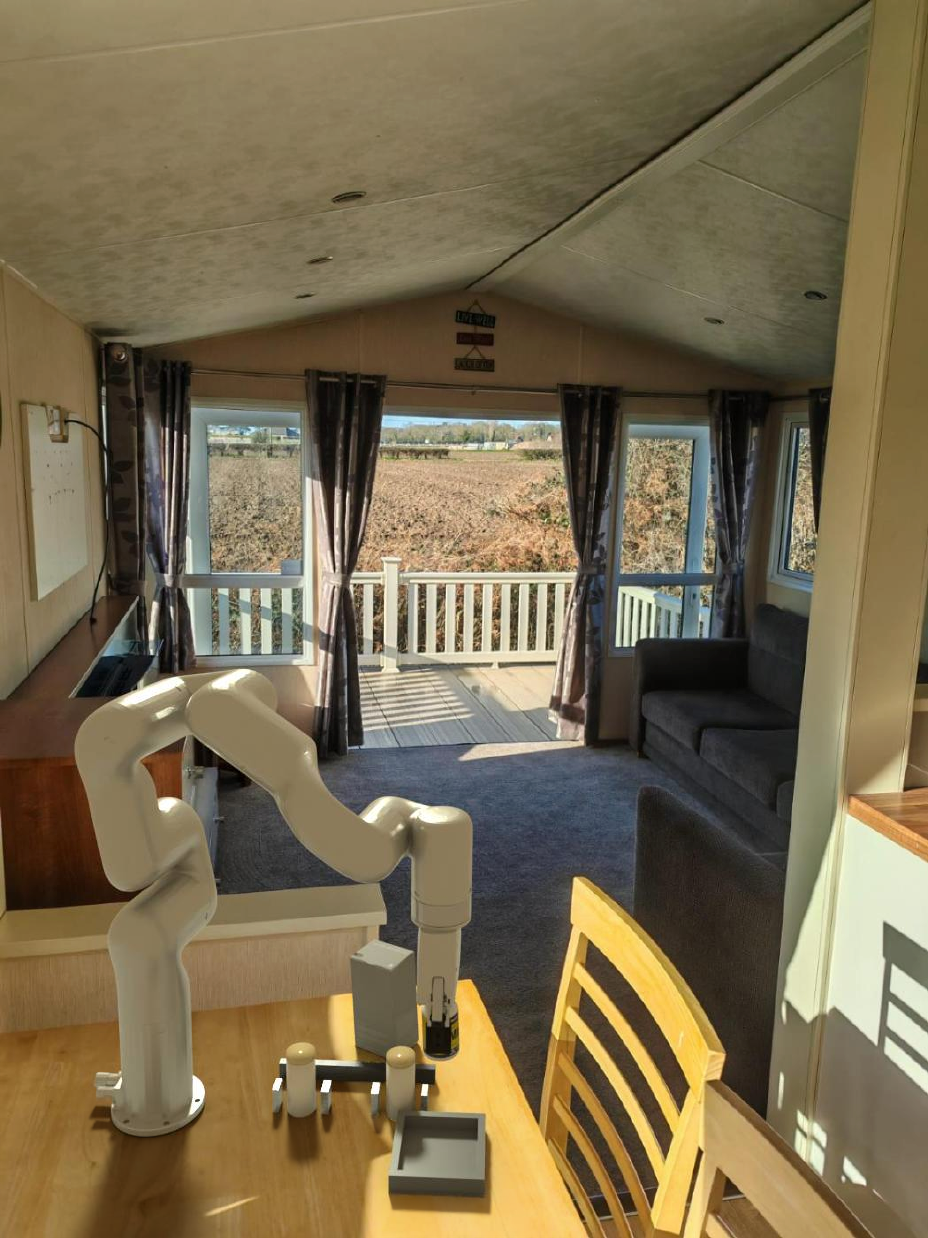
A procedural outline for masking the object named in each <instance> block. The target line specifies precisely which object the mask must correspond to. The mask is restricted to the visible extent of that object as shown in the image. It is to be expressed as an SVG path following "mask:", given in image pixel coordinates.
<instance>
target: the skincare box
mask: <svg viewBox="0 0 928 1238" xmlns="http://www.w3.org/2000/svg"><path fill="white" fill-rule="evenodd" d="M349 959H350V960H349V963H350V964H349V965H350V978H351V995H352V998H351V999H352V1011H353V1028H354V1029H353V1030H354V1045H355V1047H357V1048H360V1049H362V1050H365V1051H367V1052H370V1053H373V1054H376V1055H377V1056H380V1057H382V1058H385V1059H386V1055H387V1052H388V1051H389V1050H390V1049H391V1048H393V1047H397V1046H406V1047H409V1048H411V1049H412V1048H413V1047H414V1045H416V1044H418V1042H419V1040H420V1034H419V1017H418V1016H419V1015H418V1014H419V1013H418V1004H417V1003H416V994H417V974H416V961H415V959H416V958H415V951H414V950H411V949H407V948H403V947H400V946H397V945H394V944H391V943H387V942H385V941H382V940H379V939H376V938H374V939H372V940H371V941H370V942H369V943H367V944H365V945H364V946H363V947H362V948H360V949H359V950H358V951H356V952H355V953H353V954H352V955H351V956H349Z"/></svg>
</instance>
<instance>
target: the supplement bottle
mask: <svg viewBox="0 0 928 1238" xmlns="http://www.w3.org/2000/svg"><path fill="white" fill-rule="evenodd" d="M456 998H457V997H455V1000H456ZM431 999H433V996H431ZM443 999H447V996H443ZM427 1003H428V1001H427ZM427 1003H426V1005H421V1027H422V1052H423V1054H424V1056H425V1057H426V1058H427V1059H428V1060H429V1061H433V1062H448V1061H451V1060H452V1059H454V1058H456V1057H457V1055H458V1054H459V1051H460V1023H459V1018H460V1017H459V1006H458V1003H457V1002H456V1001H455V1003H454V1004H453V1005H452V1006H451V1007H450V1023H452V1030H451V1053H450V1054H430V1053H426V1022H427V1015H428V1004H427ZM432 1007H433V1006H432ZM445 1008H446V1007H443V1013H445Z"/></svg>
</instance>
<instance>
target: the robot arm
mask: <svg viewBox="0 0 928 1238" xmlns="http://www.w3.org/2000/svg"><path fill="white" fill-rule="evenodd" d="M278 698H279V697H278V693H277V691H276V688H275V686H274V684H273V683H272V682H271V681H270V679H269V678H267V677H266V676H265V675H263V673H260V672H258V671H255V670H252V669H248V668H237V669H228V670H221V671H214V672H213V671H212V672H205V673H196V674H186V675H178V676H173V677H168V678H164V679H161V680H158V681H155V682H153V683H150V684H148V685H145V686H143V687H140V688H137V689H135V690H132V691H130V692H128V693H126V694H123V695H120V696H118V697H117V698H114V699H113V700H110V701H109V702H106V703H105V704H103V705H102V706H100V707H99V708H97V709H95V711H93V712H92V713H91V714H89V715H88V717H86V718H85V720H84V721H83V722H82V724H81V725H80V727H79V729H78V731H77V733H76V735H75V736H76V737H75V741H74V748H73V749H74V758H75V763H76V767H77V770H78V773H79V776H80V778H81V780H82V783H83V786H84V790H85V794H86V797H87V802H88V804H89V812H90V814H91V815H90V817H91V819H92V824H93V829H94V833H95V839H96V841H97V846H98V851H99V856H100V858H101V864H102V867H103V870H104V873H105V874H104V875H105V876H106V878H107V881H108V882H109V883H110V884H111V885H112V886H113V887H114V888H116V889H118V890H119V891H121V892H136V891H139V890H142V891H141V892H140V893H139V894H137V895H136V896H135V897H134V898H132V899H131V900H130V901H129V902H128V903H126V904H125V905H124V906H123V907H122V908H121V909H120V910H119V911H118V913H117V914H116V915H115V917H114V919H112V922H111V924H110V927H109V929H108V933H107V947H108V952H109V957H110V959H111V960H110V961H111V964H112V967H113V968H112V969H113V970H114V976H115V984H116V993H117V994H116V995H117V1012H118V1030H119V1032H118V1033H119V1052H120V1070H119V1071H118V1073H116V1072H115V1073H112V1072H103V1071H99V1072H96V1074H95V1077H94V1081H93V1083H94V1084H93V1085H94V1087H95V1088H96V1090H95V1091H96V1092H95V1097H96V1098H112V1103H111V1106H110V1107H111V1108H110V1114H111V1120H112V1123H113V1124H114V1126H115V1127H116V1128H117V1129H118V1130H119V1131H121V1132H123V1133H125V1134H128V1135H130V1136H135V1137H157V1136H162V1135H165V1134H169V1133H173V1132H175V1131H176V1130H179V1129H181V1128H183V1127H184V1126H186V1125H187V1124H189V1123H190V1122H191V1121H193V1120H194V1119H195V1118H197V1116H198V1115H199V1114H200V1113H201V1111H202V1109H203V1107H204V1106H205V1102H206V1090H205V1086H204V1084H203V1082H202V1080H200V1079H199V1078H198V1077H196V1076H195V1075H194V1065H193V1062H194V1061H193V1036H192V1034H193V1033H192V1030H193V1029H192V1004H191V1003H192V1000H191V985H190V984H191V983H190V979H189V975H188V972H187V970H186V968H185V967H184V965H183V962H182V952H183V951H184V948H185V947H186V946H187V945H189V943H191V941H192V939H194V938H195V936H197V935H198V934H199V933H200V932H201V931H202V930H203V929H204V928H205V927H206V926H207V925H208V924H209V922H210V921H211V920H212V918H213V917H214V915H215V913H216V909H217V906H218V905H217V904H218V890H217V885H216V878H215V874H214V870H213V865H212V861H211V856H210V850H209V846H208V841H207V837H206V832H205V829H204V825H203V823H202V820H201V819H200V817H199V815H198V813H197V812H196V811H195V810H194V808H193V807H192V806H191V805H190V804H189V803H187V802H186V801H184V800H182V799H180V798H177V797H172V796H164V797H163V796H162V797H158V796H157V790H156V785H155V782H154V780H153V778H152V775H151V774H150V772H149V771H148V769H147V768H146V766H145V765H144V763H142V762H141V760H142V759H143V758H145V757H148V756H150V755H152V754H153V753H156V752H158V751H159V750H161V749H164V748H166V747H168V746H170V745H171V744H173V743H176V742H178V741H179V740H180V739H182V738H184V737H187V736H191V735H192V736H193V737H194V738H196V739H197V740H198V741H199V742H200V743H201V744H203V745H204V746H206V747H207V748H209V750H211V751H213V752H214V753H215V754H216V755H218V756H220V758H222V759H223V760H225V761H226V762H227V763H229V764H230V765H231V766H233V767H234V768H235V769H237V770H238V771H240V772H241V773H242V774H244V775H245V776H246V777H248V778H249V779H251V780H252V781H253V782H254V783H256V784H257V785H259V786H260V787H261V788H263V789H264V790H265V791H267V792H268V793H269V794H270V795H271V796H272V797H273V799H274V801H275V803H276V806H277V807H278V810H279V811H280V814H281V816H282V817H283V819H284V820H285V822H286V823H287V826H289V828H290V830H291V831H292V833H293V835H294V836H295V838H297V840H298V841H299V842H300V844H302V846H304V847H305V849H306V850H308V851H309V852H310V853H312V855H314V856H315V857H317V858H318V859H320V860H321V861H322V862H324V864H326V865H327V866H329V867H330V868H332V869H333V870H335V871H336V872H338V873H339V874H340V875H342V876H344V877H345V878H348V879H350V880H352V881H354V882H358V883H362V884H374V883H378V882H380V881H382V880H384V879H386V878H387V877H389V875H390V874H391V873H393V871H394V870H395V869H396V867H397V866H398V865H399V863H400V862H401V861H402V859H404V858H406V857H409V858H410V859H411V860H410V861H411V873H410V874H411V877H410V879H411V881H410V882H411V883H410V884H411V887H410V888H411V889H410V890H411V891H410V892H411V894H410V896H411V899H410V904H411V905H410V906H411V909H410V912H411V914H410V917H411V922H412V923H413V924H415V925H416V926H417V927H418V933H417V934H418V935H417V958H416V959H417V960H416V965H417V966H416V1003H417V1006H421V1007H422V1006H423V1005H426V1003H427V1001H428V1003H427V1004H428V1015H427V1022H426V1053H430V1054H450V1053H451V1030H452V1023H450V1007H451V1006H452V1005H453V1004H454V1003H455V1002H456V999H455V998H457V997H456V995H457V990H458V989H457V988H458V983H459V982H458V981H459V972H460V964H461V963H460V962H461V950H462V949H461V944H462V943H461V942H462V928H464V927H466V926H467V925H469V923H470V921H471V920H472V919H471V918H472V891H473V890H472V887H473V886H472V884H473V883H472V881H473V880H472V879H473V878H472V876H473V834H474V833H473V832H474V829H473V828H474V827H473V821H472V818H471V816H470V815H469V813H467V812H466V811H464V810H463V809H461V808H458V807H455V806H451V805H450V806H449V805H438V806H437V805H435V806H433V805H432V806H430V805H428V804H427V805H426V804H423V803H421V802H420V803H419V802H417V801H412V800H411V799H408V798H402V797H400V796H393V795H392V796H391V795H390V796H389V795H388V796H381V797H378V798H376V799H375V800H372V802H370V803H369V804H368V805H367V807H365V808H364V809H363V811H361V812H360V814H359V815H357V814H356V813H355V812H353V811H352V810H351V809H349V808H348V807H346V806H345V805H344V804H343V803H342V802H340V801H339V800H338V799H337V798H336V797H335V796H334V795H333V794H332V793H331V792H330V790H329V789H328V788H327V787H326V785H325V782H324V781H323V780H322V776H321V774H320V770H319V766H318V765H319V764H318V753H317V752H318V751H317V746H316V745H317V744H316V742H315V741H314V740H313V739H312V737H310V736H309V735H308V734H307V733H304V732H303V731H302V730H301V729H299V728H298V727H296V726H295V725H293V724H292V723H291V722H290V721H288V720H286V719H285V718H284V717H283V716H281V715H280V714H278V713H277V709H278V704H279V703H278V702H279V700H278ZM143 889H144V890H143ZM431 996H433V999H431ZM443 996H447V999H443ZM432 1006H433V1007H432ZM443 1007H446V1008H445V1013H443Z"/></svg>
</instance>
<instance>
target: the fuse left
mask: <svg viewBox="0 0 928 1238" xmlns="http://www.w3.org/2000/svg"><path fill="white" fill-rule="evenodd" d="M285 1058H286V1073H287V1079H286V1110H287V1113H288V1114H289V1116H291V1117H293V1118H304V1117H308V1116H310V1115H311V1114H313V1113H314V1112H315V1110H316V1108H317V1100H316V1099H317V1098H316V1097H317V1095H316V1093H317V1092H316V1090H317V1089H316V1088H317V1087H316V1083H317V1082H316V1081H317V1080H316V1078H315V1060H316V1047H315V1046H314V1045H313V1044H311V1043H309V1042H301V1041H300V1042H297V1043H293V1044H291V1045H290V1046H288V1047H287V1049H286V1051H285Z"/></svg>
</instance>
